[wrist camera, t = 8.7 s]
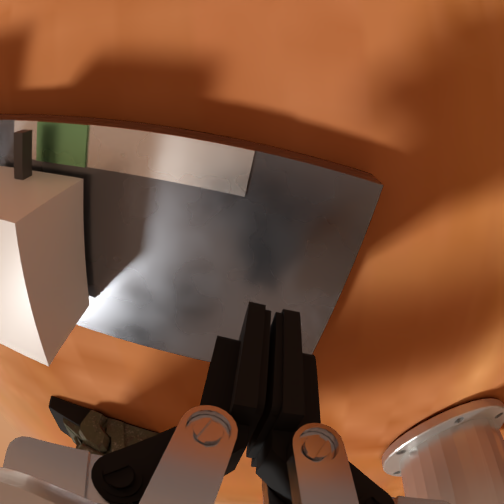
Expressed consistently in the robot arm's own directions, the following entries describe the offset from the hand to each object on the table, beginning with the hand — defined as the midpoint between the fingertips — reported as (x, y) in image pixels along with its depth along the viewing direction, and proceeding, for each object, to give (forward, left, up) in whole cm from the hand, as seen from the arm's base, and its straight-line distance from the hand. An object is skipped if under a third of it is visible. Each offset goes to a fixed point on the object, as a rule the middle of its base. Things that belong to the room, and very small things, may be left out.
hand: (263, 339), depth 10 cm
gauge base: (+9, 0, -4) cm, 10 cm away
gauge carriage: (+12, -1, -2) cm, 12 cm away
